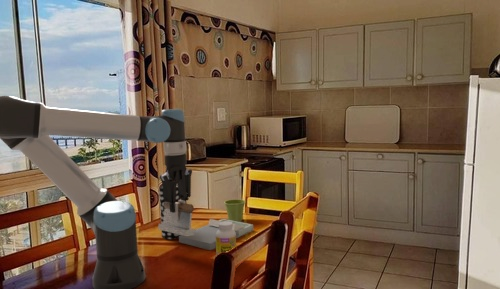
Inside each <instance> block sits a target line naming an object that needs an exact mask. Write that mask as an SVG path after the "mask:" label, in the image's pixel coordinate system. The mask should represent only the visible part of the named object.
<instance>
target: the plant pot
mask: <svg viewBox="0 0 500 289" xmlns="http://www.w3.org/2000/svg"><path fill="white" fill-rule="evenodd" d="M223 203H224V205H225V208H226V213H227V220H232V221H237V222H243V218H244V207H245V205H246V204H245V203H246V200H244V199H239V198H237V199H236V198H235V199H234V198H233V199H227V200H225V201H224V202H223Z"/></svg>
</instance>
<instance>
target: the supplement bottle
mask: <svg viewBox="0 0 500 289" xmlns="http://www.w3.org/2000/svg"><path fill="white" fill-rule="evenodd" d="M218 227H219V230H218V231H217V232H216V248H215V250H216V251H215V253H216V255H218V254H219V253H221V252H226V251H229V250H231V249H232V248H234V247H236V248H237V238H236V232H235V231H234V230H233V229H232V227H233V224H232V222H230V221H223V222H220V223H219V224H218Z"/></svg>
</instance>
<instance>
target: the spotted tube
mask: <svg viewBox="0 0 500 289" xmlns="http://www.w3.org/2000/svg"><path fill="white" fill-rule="evenodd" d="M158 189H159V190H158V191H159V192H158V193H159V194H158V195H159V206H160V207H159V208H160V224H162V223H163V220H164V210H165V208H164V202H165V201H164V195H163V187H162V185H160V186H159V187H158ZM178 200H181V199H180V195H179V189H178V184H177V187H176V202H178ZM179 236H180V235H179V234H175V233H171V232H167V231H163V230H161V238H162V239H164V240H174V239H175V240H176V239H179Z"/></svg>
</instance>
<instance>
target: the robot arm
mask: <svg viewBox="0 0 500 289" xmlns="http://www.w3.org/2000/svg"><path fill="white" fill-rule="evenodd" d="M185 123H186V121H185V114H184V110H183V109H181V108H172V109H171V108H169V109H162V110H161V114H160V115H155V116H154V115H149V116H148V115H147V116H146V115H145V116H142V115H134V114H133V115H132V114H122V113H113V112H112V113H111V112H102V111H92V110H81V109H73V108H72V109H71V108H60V107H50V106H46V105H45V104H44V103H43V102H38V101H37V102H35V101H30V100H25V99H21V98H19V97H17V96H12V95H0V140H1V141H2V142H3V143H4V144H5V145H6V146H7V147H8V148H9V149H10V150H12V151H20V153H23V155H25V157H27V159H28V160H29V161H30V162H31V163H32V164H34V165H35V167H37V169H39V170H40V172H42V174H43V175H44V176H46V177H47V178H48V180H50V182H51V183H53V185H55V186H56V188H58V189H59V190H60V191H61V193H63V194H64V195H65V197H67V199H69V200H70V201H71V202H72V203H73V205H75V206H76V208H77V210H76V211H77V212H76V214H77V215H78V216H79V218H81V220H83V221H84V222H85V223H86V224H87V226H89V228H90V229H91V230H92V232H93V234H94V235H95V236H94V238H95V249H96V263H95V267H94V270H93V271H94V272H93V275H92V278H91V279H92V288H93V289H135V288H136V287H138V286H140V285H141V284H143V283H144V282H145V280H146V272H145V267H144V264H143V263H142V261H141V259H140V256H139V253H138V252H139V251H138V239H137V238H138V237H137V222H136V220H137V214H136V210H135V207H134V205H133V204H131V203H130V202H129V201H128V202H127V201H124V200H118V199H117V198H116V197H115V196H114V195H113V194H112V193H111V192H110V191H109V189H108V188H106V187H104V188H103V187H101V188H100V187H99V186H97V184H96V183H95V182H94V181H93V180H92V179H91V178H90V177H89V176H88V175H87V173H85V172H84V171H83V170H82V169H81V168H80V167H79V166H78V164H77V163H76V162H75V161H74V159H72V158H71V157H70V156H69V155H68V154H67V153H66V152H65V151H64V150H63V149H62V148H61V147H60V146H59V144H57V143H56V142H55V141H54V139H53V138H52V137H51V136H60V137H61V136H62V137H74V138H75V137H76V138H91V139H104V140H105V139H106V140H107V139H108V140H120V141H121V140H122V141H137V142H148V143H149V142H151V143H153V144H160V143H163V153H164V165H165V168H166V169H165V173H163V174H159V179H160V181H161V186H162V187H163V195H164V201H165V202H168V203H169V204H170V212H171V217H172V221H176V222H178V221H179V218H178V203H176V187H177V185H178V189H179V195H180V199H181V200H178V202H181V203H186V204H188V203H187V201H189V200H190V199H189V198H190V197H191V196H192V194H191V193H192V173H193V170H192V169H188V168H187V166H186V165H187V163H188V161H187V160H188V159H187V154H186V152H187V145H186V126H185Z"/></svg>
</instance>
